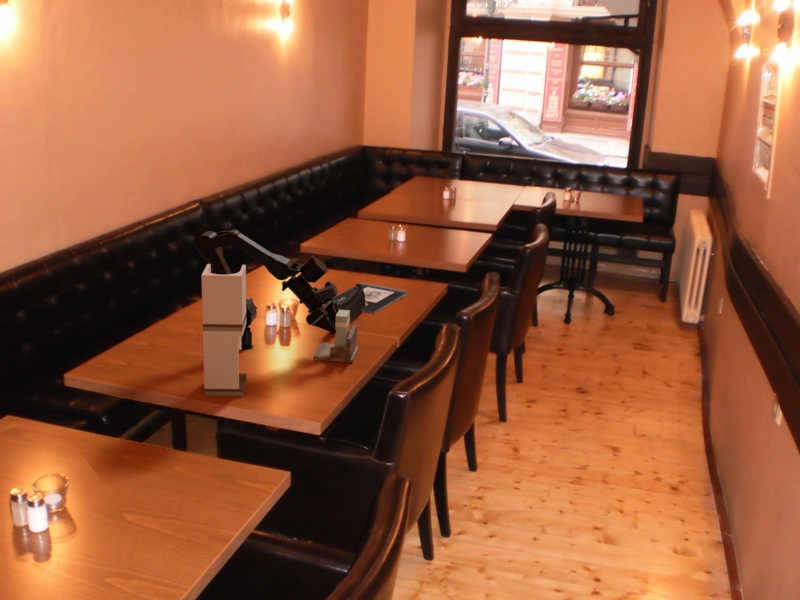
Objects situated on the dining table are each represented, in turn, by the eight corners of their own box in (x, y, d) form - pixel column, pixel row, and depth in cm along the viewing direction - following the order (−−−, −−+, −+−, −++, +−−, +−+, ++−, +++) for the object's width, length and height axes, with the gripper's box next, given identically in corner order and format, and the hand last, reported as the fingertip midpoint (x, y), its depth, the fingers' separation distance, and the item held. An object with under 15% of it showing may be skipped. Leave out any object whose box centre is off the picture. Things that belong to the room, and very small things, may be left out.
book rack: (313, 359, 268) (313, 336, 265) (321, 345, 280) (321, 322, 278) (352, 363, 267) (353, 339, 264) (358, 348, 279) (359, 325, 277)
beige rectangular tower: (242, 395, 239) (241, 276, 229) (204, 395, 238) (201, 275, 228) (246, 380, 250) (245, 264, 240) (210, 379, 249) (207, 264, 239)
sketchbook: (323, 305, 324) (323, 300, 323) (361, 286, 350) (361, 281, 349) (373, 315, 315) (374, 309, 314) (408, 295, 341) (409, 290, 340)
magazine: (334, 312, 286) (363, 267, 309) (325, 311, 287) (354, 266, 310) (338, 353, 295) (366, 306, 319) (329, 351, 296) (358, 305, 320)
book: (334, 354, 270) (335, 316, 266) (338, 347, 276) (339, 309, 272) (345, 355, 270) (346, 316, 266) (348, 348, 276) (350, 310, 272)
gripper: (317, 284, 257) (352, 321, 260) (328, 268, 275) (360, 303, 277) (291, 306, 260) (325, 343, 263) (303, 289, 278) (336, 324, 280)
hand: (338, 327), depth 271 cm, fingers open, 9 cm apart
